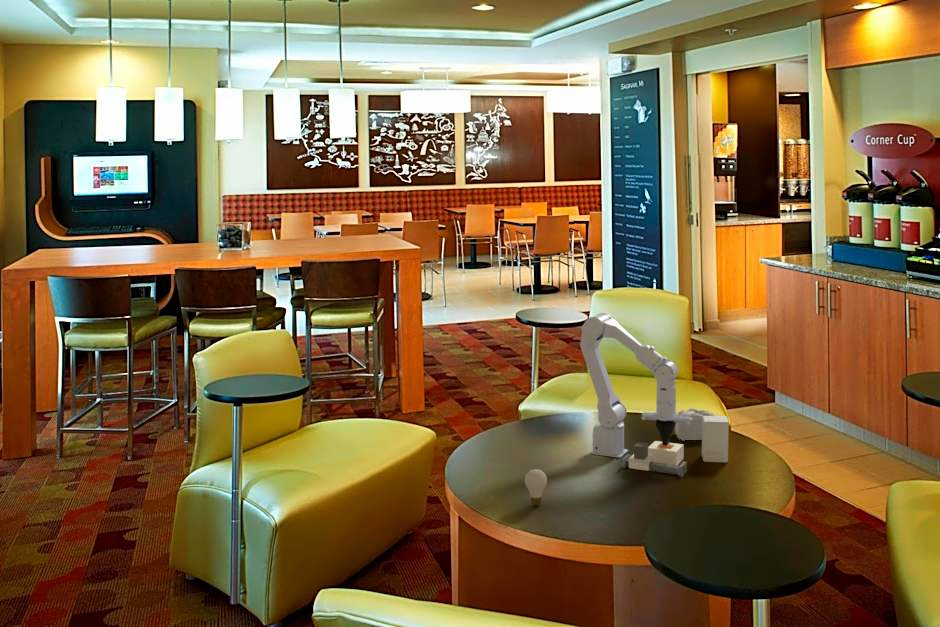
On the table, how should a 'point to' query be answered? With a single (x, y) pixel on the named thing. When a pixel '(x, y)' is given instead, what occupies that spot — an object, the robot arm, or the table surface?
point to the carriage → (640, 457)
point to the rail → (660, 467)
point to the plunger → (665, 446)
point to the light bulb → (535, 485)
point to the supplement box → (715, 438)
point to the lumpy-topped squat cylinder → (691, 424)
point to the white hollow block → (666, 453)
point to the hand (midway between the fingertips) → (665, 444)
